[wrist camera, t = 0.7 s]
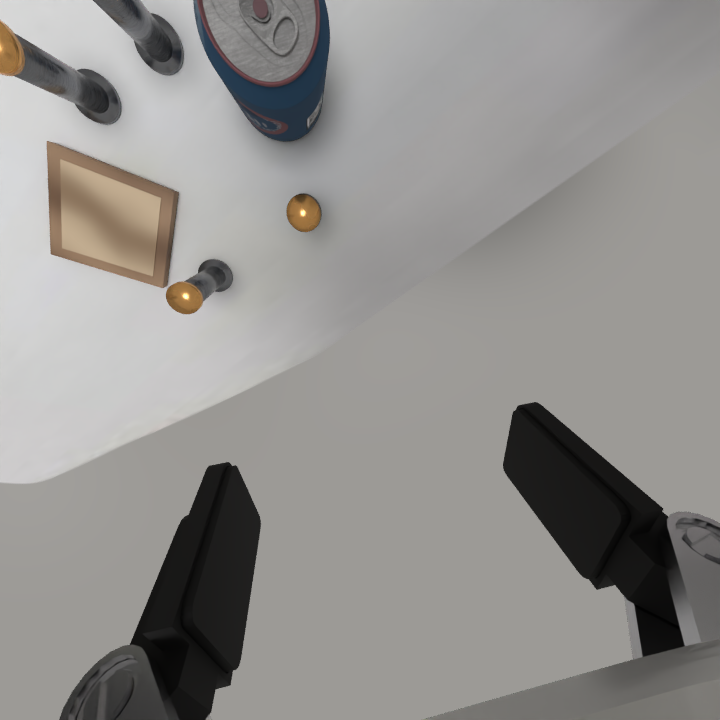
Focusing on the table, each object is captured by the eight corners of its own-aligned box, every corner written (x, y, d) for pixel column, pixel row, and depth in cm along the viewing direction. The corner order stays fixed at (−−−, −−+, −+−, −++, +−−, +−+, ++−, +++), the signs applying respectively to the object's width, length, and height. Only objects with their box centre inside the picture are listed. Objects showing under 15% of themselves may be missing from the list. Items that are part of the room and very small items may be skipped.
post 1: (72, 61, 22) (-63, -24, 14) (122, 85, 23) (22, 18, 15) (72, 111, 23) (-52, 60, 15) (120, 132, 24) (26, 94, 16)
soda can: (220, 98, 24) (152, 10, 13) (265, 9, 22) (226, -176, 11) (292, 163, 27) (283, 133, 16) (338, 88, 25) (360, 0, 14)
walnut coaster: (56, 143, 23) (45, 140, 22) (178, 192, 26) (173, 191, 25) (59, 252, 27) (49, 254, 26) (167, 285, 30) (162, 288, 29)
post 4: (293, 187, 27) (287, 179, 20) (325, 202, 28) (332, 199, 21) (284, 222, 29) (275, 227, 21) (315, 235, 30) (318, 244, 22)
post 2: (137, 5, 21) (34, -119, 13) (186, 32, 22) (117, -67, 14) (134, 60, 22) (37, -22, 14) (180, 83, 23) (114, 18, 15)
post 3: (202, 254, 29) (162, 271, 21) (235, 266, 30) (209, 286, 22) (197, 284, 30) (157, 311, 22) (229, 294, 31) (202, 324, 23)
